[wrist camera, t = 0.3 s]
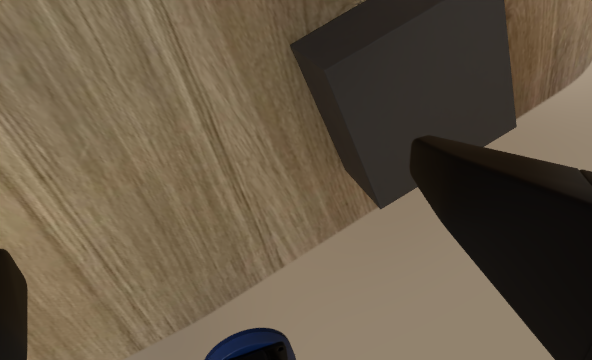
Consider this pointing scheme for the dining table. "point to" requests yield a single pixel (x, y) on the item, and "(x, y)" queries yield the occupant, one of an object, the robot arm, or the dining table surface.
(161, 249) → the dining table surface
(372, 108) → the charcoal riser
